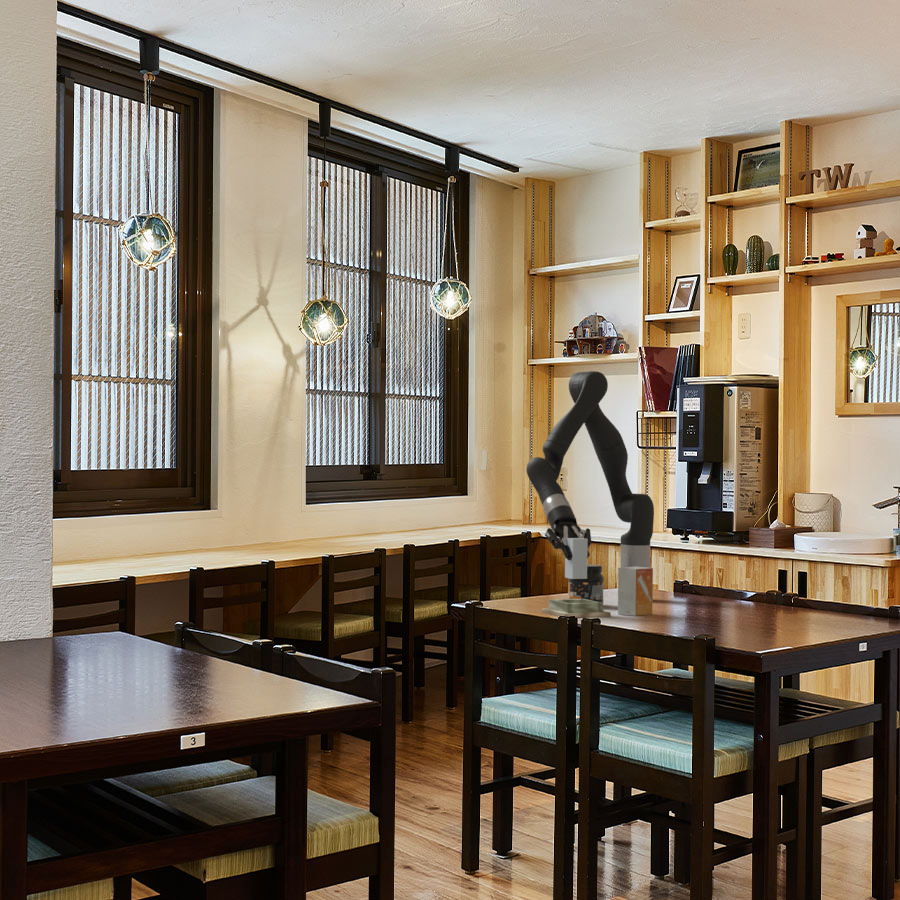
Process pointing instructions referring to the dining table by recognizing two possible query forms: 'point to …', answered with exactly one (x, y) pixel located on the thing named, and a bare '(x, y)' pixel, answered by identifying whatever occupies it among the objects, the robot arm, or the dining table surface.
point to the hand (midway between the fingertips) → (578, 558)
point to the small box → (635, 591)
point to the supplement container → (588, 585)
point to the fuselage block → (577, 559)
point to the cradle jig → (576, 608)
